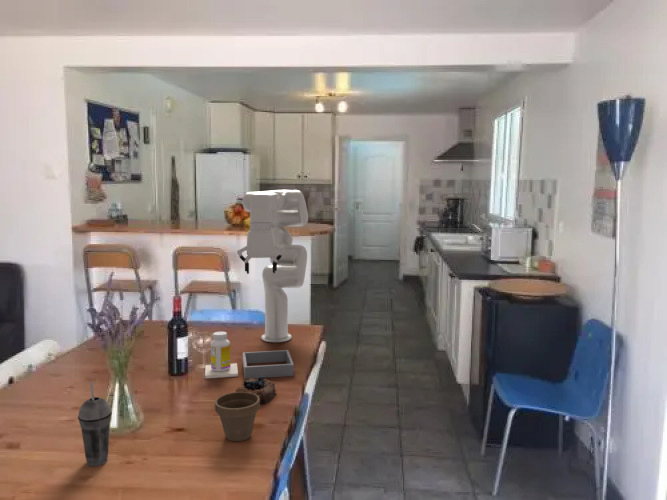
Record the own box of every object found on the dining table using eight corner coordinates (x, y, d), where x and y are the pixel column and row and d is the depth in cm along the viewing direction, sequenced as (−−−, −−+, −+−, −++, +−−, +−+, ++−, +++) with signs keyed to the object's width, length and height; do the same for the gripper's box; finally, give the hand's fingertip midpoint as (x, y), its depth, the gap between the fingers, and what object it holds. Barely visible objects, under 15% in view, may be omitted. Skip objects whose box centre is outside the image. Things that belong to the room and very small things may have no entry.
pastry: (279, 392, 175) (279, 374, 174) (265, 407, 163) (265, 388, 163) (247, 389, 178) (246, 371, 177) (231, 403, 166) (230, 384, 165)
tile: (205, 367, 197) (205, 365, 197) (237, 365, 199) (236, 363, 199) (204, 378, 186) (204, 375, 186) (238, 376, 189) (237, 373, 188)
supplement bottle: (232, 366, 196) (232, 331, 194) (227, 372, 189) (226, 336, 188) (214, 365, 196) (213, 330, 195) (208, 371, 190) (207, 335, 188)
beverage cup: (118, 454, 134) (114, 374, 132) (107, 469, 127) (103, 385, 125) (87, 454, 134) (83, 374, 132) (74, 469, 127) (70, 385, 125)
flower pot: (217, 449, 137) (216, 410, 136) (213, 429, 148) (213, 393, 147) (263, 443, 140) (263, 405, 139) (256, 424, 151) (256, 389, 150)
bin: (242, 363, 202) (242, 352, 202) (288, 360, 206) (287, 350, 205) (244, 378, 186) (244, 367, 186) (293, 375, 190) (293, 364, 189)
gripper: (282, 226, 209) (283, 270, 211) (236, 226, 205) (237, 272, 207) (285, 227, 202) (285, 274, 204) (236, 228, 198) (237, 275, 200)
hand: (260, 272), depth 206 cm, fingers open, 9 cm apart
